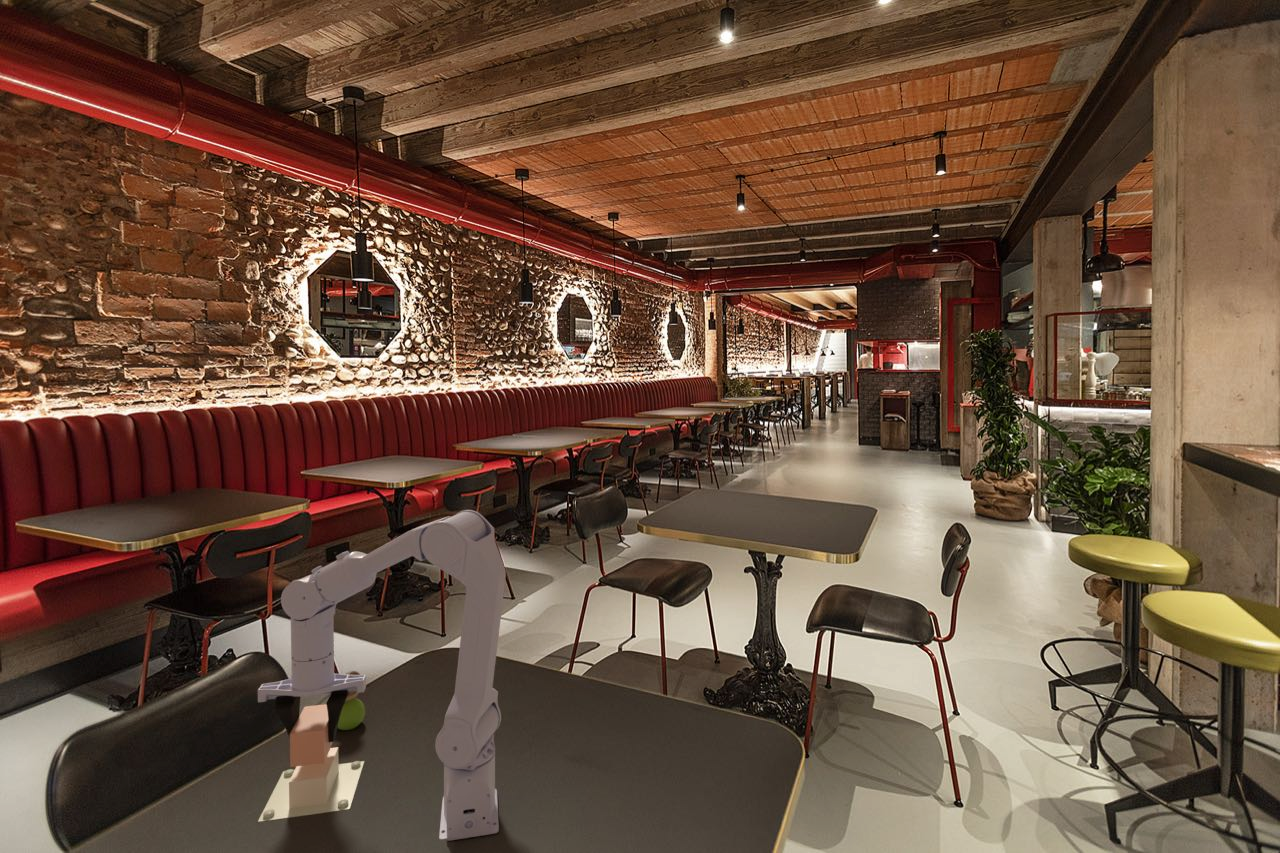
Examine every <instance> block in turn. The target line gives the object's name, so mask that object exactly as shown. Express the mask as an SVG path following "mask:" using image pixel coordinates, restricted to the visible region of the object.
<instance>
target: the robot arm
mask: <svg viewBox="0 0 1280 853" xmlns="http://www.w3.org/2000/svg"><path fill="white" fill-rule="evenodd" d="M495 540H496V539H495V527H494V526H493V525H492V524H491V523H490V522H489V521H488V519H486V518H485V517H484V516H483V515H482V514H481V513H480V512H478V511H476V510H472V509H465V510H464V509H463V510H460V511H459V512H457V513H456V514H454V515H452V516H450V515H448V516H445V517H443V518H439V519H436V520H433V521H431V522H428V523H424V524H421V525H420V526H417V527H415V528H412V529H411V530H408V531H406V532H404V533H403V534H401V535H399V536H397V537H396V538H394V539H391V541H389V542H387V543H384V544H383V545H382V546H379V547H378V548H376V549H374V550H373V551H370V552H369V553H365V552H362V551H352V552H350V551H349V550H346V551H344V552H341V553H339V554H337V555H336V556H335V558H336V560H335V561H333V562H331V563H329V564H327V565H325V566H322V565H319V566H317V567H315V568H313V569H311V571H310V572H311V574H309V575H306V576H304V577H301V578H299V579H294V580H292V581H291V582H289V584H288V585H286V587H284V589H283V590H282V592H281V595H280V596H281V597H280V603H281V607H282V609H283V611H284V613H285V614H286V615H287V616H288V617H290V654H291V655H290V656H291V657H290V658H291V662H290V663H291V678H289V679H284V680H279V681H275V682H267V683H262V684H261V685H260V687H259V688H258V689H257V703H265V702H267V701H268V700H275V704H274V706H273V711H274V714H275V715H276V716H277V717H278V718H279V720H280V721H281V722H282V724H283V727H284V728H285V730H286V733H287V735H288V738H289V740H290V733H291V731H292V729H293V727H294V725H295V723H296V722H297V720H298V718H299V716H300V706H301V698H302V697H314V696H318V695H327V694H329V695H330V696H328V699H327V701H326V704H327V711H328V720H329V728H328V740H329V742H333V743H334V742H335V739H336V737H337V731H338V728H337V726H338V721H339V717H340V714H341V711H342V708H343V705H344V703H345V701H346V699H347V696H348V694H349V692H350V691H356V692H357V693H364V692H365V690H366V689H367V688H366V687H367V675H366V674H360V675H347V674H346V673H335V647H334V646H335V644H334V643H335V642H334V641H335V639H334V638H335V635H334V634H335V633H334V629H335V628H334V626H335V624H334V622H335V621H334V619H335V618H334V617H335V615H336V606H337V604H338V603H340V602H343V601H344V600H346V599H348V598H350V597H352V596H354V595H357V594H358V593H360V592H362V591H364V590H366V589H368V588H370V587H371V586H372V585H373V584H374V583H375V580H376V578H377V575H378V574H377V573H379V572H381V571H383V570H385V569H387V568H389V567H392V566H394V565H397V564H399V563H400V562H403V561H405V560H406V559H409V558H410V557H414V558H415V559H416V560H418V561H420V562H423V561H425V560H427V561H428V562H429V563H430V564H432V565H433V566H435V567H436V568H438V569H440V570H441V571H443V572H445V573H446V574H448V575H450V576H452V577H453V578H455V580H458V581H460V583H461V584H462V585H463V586H464V587H465V599H464V608H463V616H462V622H461V623H462V625H461V633H460V643H459V651H458V658H457V660H458V661H457V669H456V675H455V676H456V677H455V683H454V684H455V685H454V694H453V696H452V698H451V701H450V703H449V705H448V708H447V710H446V713H445V715H444V722H443V726H442V728H441V729H440V731H439V732H438V734H437V735H436V737H435V741H434V742H435V743H434V747H435V752H436V755H437V757H438V758H439V760H440V761H441V762H442V763H443V797H442V802H441V811H440V822H439V825H440V826H439V831H438V832H439V833H438V835H439V836H438V839H439V840H445V841H446V842H449V841H455V840H463V839H469V838H473V837H480V836H487V835H494V834H497V833H498V832H499V828H500V826H499V809H498V808H499V807H498V806H499V804H498V790H497V788H496V761H495V760H496V745H495V741H494V740H495V739H494V738H495V736H494V733H495V732H496V731H497V730H498V729H499V727H500V725H501V721H502V714H501V712H502V711H501V709H500V706H499V703H498V695H499V691H498V690H496V689H495V688H494V687H493V686H494V677H495V670H496V667H495V666H496V661H497V653H498V642H499V637H500V636H499V634H500V627H501V618H502V610H503V602H504V593H505V586H506V577H507V575H506V574H507V573H506V569H505V565H504V562H503V560H502V557H501V553H500V551H499V549H498V546H497V543H496V541H495Z"/></svg>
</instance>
